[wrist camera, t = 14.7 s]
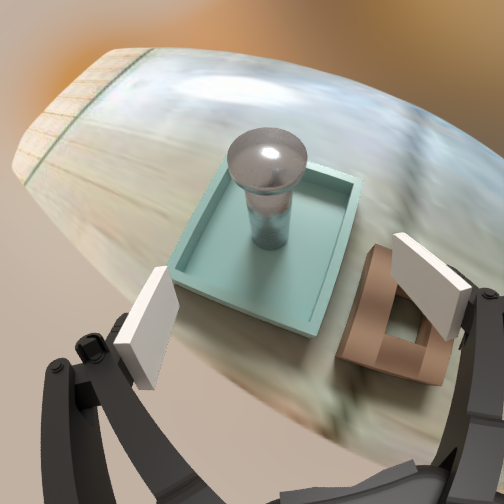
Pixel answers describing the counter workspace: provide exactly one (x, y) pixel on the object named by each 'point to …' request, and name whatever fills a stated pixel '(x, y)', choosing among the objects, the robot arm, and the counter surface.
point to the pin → (268, 180)
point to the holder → (374, 325)
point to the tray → (269, 262)
